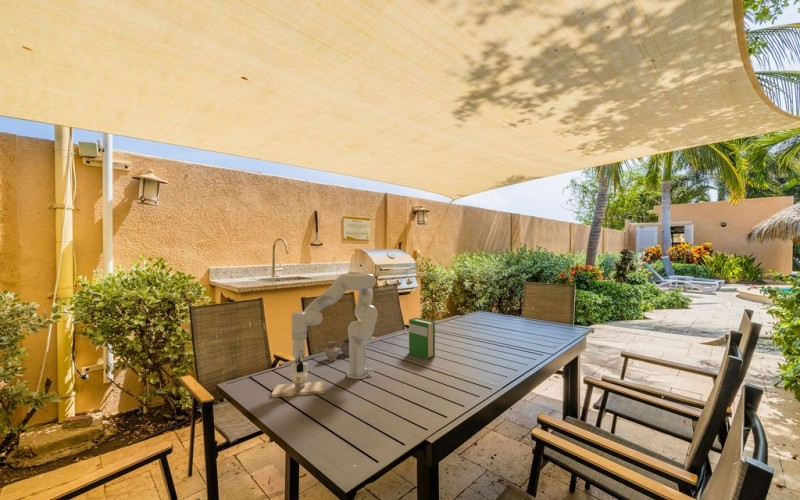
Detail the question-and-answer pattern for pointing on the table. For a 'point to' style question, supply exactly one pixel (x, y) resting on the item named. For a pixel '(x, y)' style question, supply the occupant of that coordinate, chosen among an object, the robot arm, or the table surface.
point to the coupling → (299, 373)
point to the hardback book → (422, 337)
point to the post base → (298, 389)
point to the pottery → (337, 349)
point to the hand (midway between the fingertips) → (299, 370)
